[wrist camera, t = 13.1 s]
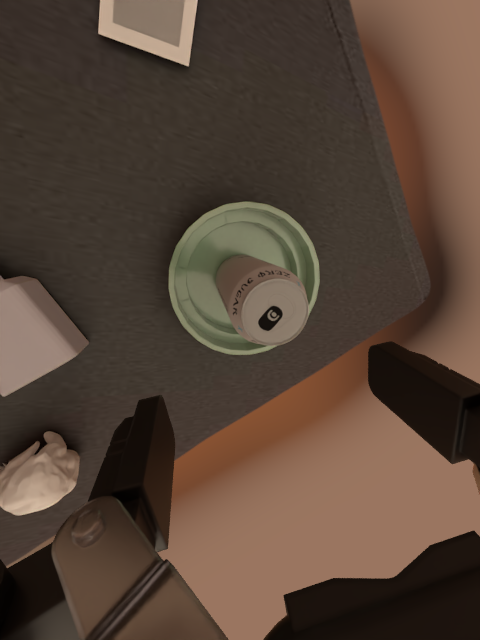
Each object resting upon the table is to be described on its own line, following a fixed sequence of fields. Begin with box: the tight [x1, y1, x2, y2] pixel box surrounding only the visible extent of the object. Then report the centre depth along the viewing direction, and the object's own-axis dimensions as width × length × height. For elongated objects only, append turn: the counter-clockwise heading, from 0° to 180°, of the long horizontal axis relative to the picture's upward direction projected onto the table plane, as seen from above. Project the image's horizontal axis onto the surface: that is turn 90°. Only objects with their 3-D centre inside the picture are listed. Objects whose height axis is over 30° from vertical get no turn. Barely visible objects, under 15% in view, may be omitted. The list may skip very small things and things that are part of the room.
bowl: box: [168, 201, 320, 355], centre depth 30 cm, size 16×16×5 cm
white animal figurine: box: [0, 431, 80, 515], centre depth 32 cm, size 6×8×12 cm
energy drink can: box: [216, 254, 309, 346], centre depth 25 cm, size 6×6×15 cm
